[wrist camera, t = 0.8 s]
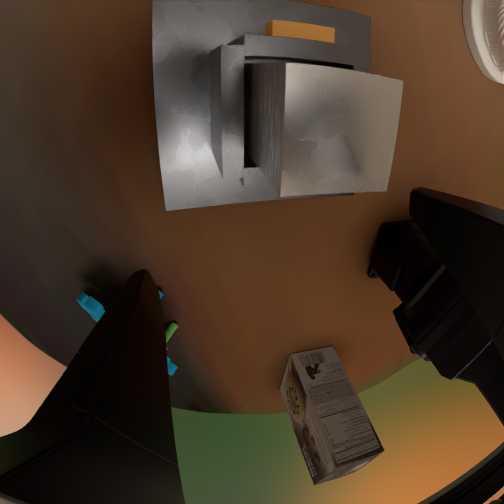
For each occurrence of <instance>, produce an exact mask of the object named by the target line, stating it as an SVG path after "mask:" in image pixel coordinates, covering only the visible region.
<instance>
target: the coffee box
mask: <svg viewBox="0 0 504 504" xmlns="http://www.w3.org/2000/svg"><path fill="white" fill-rule="evenodd" d="M280 392H281V395H282V398H283V401H284V403H285V406H286V409H287V412H288V415H289V417H290V420H291V423H292V426H293V429H294V432H295V434H296V437H297V440H298V443H299V445H300V448H301V451H302V454H303V456H304V459H305V462H306V465H307V467H308V470H309V473H310V475H311V478H312V480H313V483H314V485H317V484H320V483H323V482H326V481H330V480H333V479H336V478H340V477H342V476H346V475H348V474H351V473H353V472H355V471H357V470H358V469H360V468H361V467H363V466H364V465H366V464H367V463H369V462H370V461H371V460H373V459H374V458H376V457H377V456H378V455H379V454H381V453H382V452H383V451H384V448H383V447H382V445H381V442H380V441H379V438H378V436H377V434H376V432H375V430H374V428H373V426H372V424H371V422H370V420H369V417H368V415H367V413H366V411H365V410H364V407H363V405H362V403H361V401H360V399H359V397H358V395H357V393H356V391H355V389H354V387H353V385H352V383H351V381H350V379H349V377H348V375H347V373H346V371H345V369H344V367H343V365H342V363H341V361H340V359H339V357H338V355H337V353H336V351H335V349H334V348H333V346H330V347H325V348H320V349H315V350H310V351H305V352H299V353H293V354H290V355H289V358H288V362H287V365H286V369H285V372H284V376H283V379H282V383H281V386H280Z"/></svg>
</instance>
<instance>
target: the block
mask: <svg viewBox="0 0 504 504" xmlns="http://www.w3.org/2000/svg"><path fill="white" fill-rule="evenodd" d="M402 91H403V81H401V80H397V79H393V78H389V77H384V76H380V75H375V74H370V73H365V72H359V71H354V70H348V69H341V68H334V67H327V66H319V65H309V64H299V63H244V150H245V151H246V153H247V154H248V155H249V156H250V158H251V159H252V160H253V162H254V163H255V164H256V165H257V167H258V168H259V169H260V171H261V172H262V173H263V175H264V176H265V177H266V179H267V180H268V181H269V182H270V184H271V185H272V186H273V188H274V189H275V190H276V192H277V193H278V194H279V196H280V197H284V196H299V195H314V194H332V193H353V192H381V191H387V187H388V182H389V177H390V172H391V166H392V161H393V155H394V149H395V143H396V137H397V131H398V124H399V116H400V108H401V100H402Z"/></svg>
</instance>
